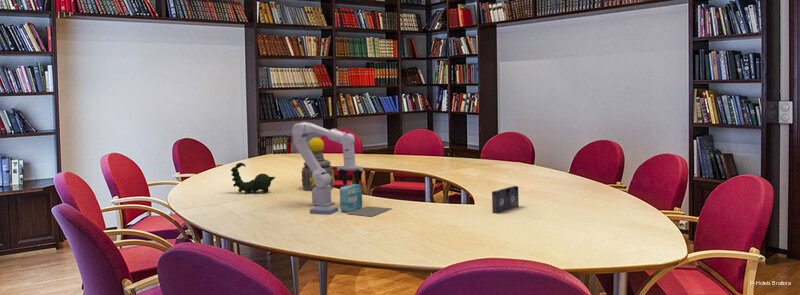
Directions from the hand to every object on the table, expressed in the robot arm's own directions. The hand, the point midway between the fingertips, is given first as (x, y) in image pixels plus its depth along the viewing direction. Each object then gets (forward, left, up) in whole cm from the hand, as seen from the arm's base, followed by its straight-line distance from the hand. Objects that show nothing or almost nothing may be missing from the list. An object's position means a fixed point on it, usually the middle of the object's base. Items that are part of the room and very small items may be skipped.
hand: (351, 184), depth 316 cm
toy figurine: (-73, +8, -11) cm, 75 cm away
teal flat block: (+7, -10, -11) cm, 16 cm away
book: (-3, -19, -11) cm, 22 cm away
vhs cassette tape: (+76, +17, -11) cm, 78 cm away
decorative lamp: (-46, +33, -11) cm, 58 cm away
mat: (+17, -10, -10) cm, 22 cm away
